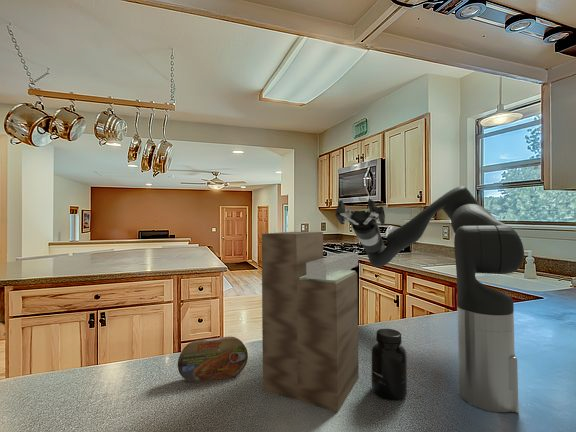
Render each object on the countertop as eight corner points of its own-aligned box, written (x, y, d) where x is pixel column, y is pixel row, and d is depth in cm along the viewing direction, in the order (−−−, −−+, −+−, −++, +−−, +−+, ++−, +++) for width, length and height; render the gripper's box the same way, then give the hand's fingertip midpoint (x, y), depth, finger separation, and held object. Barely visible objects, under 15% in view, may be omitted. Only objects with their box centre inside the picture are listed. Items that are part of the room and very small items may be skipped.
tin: (177, 385, 66) (177, 345, 66) (178, 378, 69) (178, 339, 69) (248, 375, 70) (248, 337, 70) (246, 369, 73) (246, 333, 73)
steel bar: (358, 265, 77) (357, 253, 77) (326, 280, 58) (325, 263, 58) (342, 264, 79) (342, 252, 79) (306, 278, 59) (306, 262, 60)
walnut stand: (358, 377, 68) (356, 232, 69) (337, 412, 56) (335, 234, 57) (293, 363, 76) (292, 231, 77) (262, 390, 63) (261, 233, 64)
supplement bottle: (368, 396, 61) (367, 334, 61) (375, 380, 67) (374, 324, 67) (405, 405, 58) (403, 340, 58) (409, 388, 64) (408, 329, 64)
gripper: (388, 240, 96) (378, 212, 84) (344, 240, 103) (328, 213, 91) (390, 219, 100) (380, 190, 88) (347, 220, 107) (332, 192, 94)
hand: (354, 202), depth 89 cm, fingers open, 8 cm apart
